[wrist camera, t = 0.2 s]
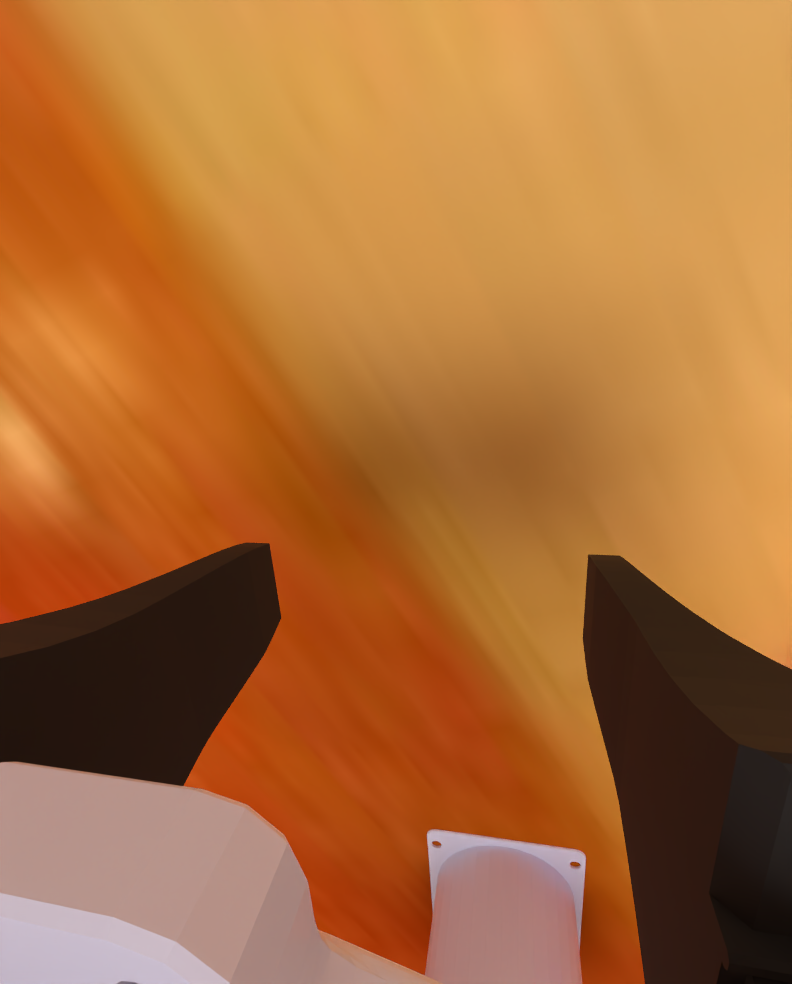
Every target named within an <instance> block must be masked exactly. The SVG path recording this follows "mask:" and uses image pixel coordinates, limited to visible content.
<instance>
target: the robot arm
mask: <svg viewBox="0 0 792 984" xmlns="http://www.w3.org/2000/svg"><path fill="white" fill-rule="evenodd" d="M280 619H281V613H280V607H279V601H278V595H277V588H276V582H275V576H274V570H273V564H272V557H271V551H270V545H269V543H243V544H239V545H235V546H232V547H230V548H227V549H224V550H221V551H219V552H216V553H214V554H211V555H209V556H207V557H204V558H202V559H199V560H197V561H195V562H192V563H190V564H188V565H185V566H183V567H181V568H178V569H176V570H173V571H171V572H169V573H166V574H164V575H161V576H159V577H156V578H154V579H151V580H148V581H146V582H143V583H141V584H138V585H136V586H133V587H131V588H128V589H125V590H123V591H120V592H117V593H114V594H111V595H108V596H105V597H102V598H99V599H96V600H93V601H90V602H86V603H83V604H80V605H77V606H73V607H70V608H66V609H62V610H58V611H54V612H50V613H46V614H42V615H38V616H34V617H30V618H26V619H22V620H18V621H14V622H9V623H4V624H0V984H582V974H581V964H580V953H579V949H580V935H581V921H582V908H583V894H584V881H585V867H586V856H585V854H584V853H583V852H582V851H580V850H577V849H571V848H564V847H557V846H550V845H543V844H536V843H530V842H523V841H516V840H509V839H502V838H495V837H488V836H481V835H474V834H467V833H460V832H453V831H446V830H439V829H431V830H429V831H428V833H427V843H428V856H429V869H430V882H431V895H432V908H433V918H432V926H431V933H430V941H429V949H428V956H427V964H426V972H425V975H422V974H420V973H418V972H415V971H413V970H411V969H409V968H406V967H404V966H402V965H399V964H397V963H395V962H393V961H390V960H388V959H386V958H383V957H381V956H379V955H376V954H374V953H372V952H370V951H367V950H365V949H363V948H360V947H358V946H356V945H353V944H351V943H349V942H347V941H344V940H342V939H340V938H337V937H335V936H333V935H330V934H328V933H325V932H323V931H320V930H318V928H317V926H316V923H315V919H314V914H313V908H312V902H311V897H310V891H309V885H308V881H307V879H306V877H305V875H304V873H303V871H302V869H301V867H300V865H299V863H298V861H297V859H296V857H295V855H294V853H293V851H292V849H291V847H290V845H289V843H288V841H287V839H286V837H285V835H284V834H283V833H281V832H280V831H279V830H278V829H276V828H275V827H274V826H273V825H272V824H270V823H269V822H268V821H267V820H265V819H264V818H263V817H262V816H260V815H259V814H258V813H257V812H256V811H254V810H253V809H252V808H251V807H249V806H248V805H246V804H244V803H241V802H238V801H235V800H232V799H229V798H226V797H224V796H221V795H218V794H215V793H212V792H209V791H207V790H204V789H198V788H192V787H185V786H183V785H184V783H185V782H186V780H187V778H188V776H189V774H190V772H191V770H192V768H193V766H194V764H195V762H196V761H197V759H198V757H199V755H200V753H201V751H202V749H203V747H204V746H205V744H206V742H207V741H208V739H209V737H210V736H211V734H212V733H213V731H214V729H215V728H216V726H217V725H218V723H219V722H220V720H221V719H222V717H223V716H224V714H225V713H226V711H227V710H228V708H229V707H230V705H231V704H232V702H233V701H234V699H235V698H236V696H237V695H238V693H239V692H240V690H241V689H242V687H243V686H244V684H245V683H246V681H247V680H248V678H249V677H250V675H251V674H252V672H253V671H254V669H255V668H256V666H257V665H258V663H259V661H260V660H261V658H262V657H263V655H264V653H265V652H266V650H267V648H268V646H269V644H270V642H271V639H272V637H273V635H274V633H275V631H276V628H277V626H278V624H279V622H280ZM583 643H584V652H585V660H586V668H587V676H588V681H589V685H590V689H591V693H592V697H593V701H594V705H595V709H596V713H597V716H598V720H599V724H600V728H601V731H602V735H603V739H604V743H605V746H606V750H607V754H608V758H609V762H610V765H611V769H612V773H613V777H614V781H615V786H616V790H617V795H618V799H619V805H620V811H621V818H622V824H623V831H624V837H625V843H626V850H627V856H628V863H629V870H630V877H631V884H632V891H633V897H634V904H635V911H636V918H637V926H638V933H639V941H640V948H641V956H642V963H643V971H644V978H645V984H792V669H790V668H787V667H785V666H783V665H781V664H779V663H777V662H775V661H773V660H772V659H770V658H768V657H766V656H764V655H762V654H760V653H758V652H757V651H755V650H753V649H751V648H750V647H748V646H746V645H744V644H742V643H741V642H739V641H737V640H735V639H734V638H732V637H730V636H728V635H727V634H725V633H724V632H722V631H720V630H719V629H717V628H716V627H714V626H713V625H711V624H710V623H708V622H707V621H705V620H704V619H702V618H701V617H699V616H698V615H696V614H695V613H693V612H692V611H690V610H689V609H688V608H686V607H685V606H683V605H682V604H681V603H679V602H678V601H677V600H675V599H674V598H673V597H671V596H670V595H669V594H667V593H666V592H665V591H663V590H662V589H661V588H660V587H658V586H657V585H656V584H655V583H653V582H652V581H651V580H650V579H648V578H647V577H646V576H645V575H644V574H642V573H641V572H640V571H639V570H637V569H636V568H635V567H634V566H633V565H631V564H630V563H629V562H628V561H626V560H625V559H624V558H622V557H621V556H614V555H588V568H587V583H586V598H585V613H584V628H583ZM433 841H438V842H440V843H441V845H440V846H436V845H434V844H433V843H432V842H433ZM571 862H578V863H579V864H580V866H578V867H574V866H572V865H570V863H571Z"/></svg>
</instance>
